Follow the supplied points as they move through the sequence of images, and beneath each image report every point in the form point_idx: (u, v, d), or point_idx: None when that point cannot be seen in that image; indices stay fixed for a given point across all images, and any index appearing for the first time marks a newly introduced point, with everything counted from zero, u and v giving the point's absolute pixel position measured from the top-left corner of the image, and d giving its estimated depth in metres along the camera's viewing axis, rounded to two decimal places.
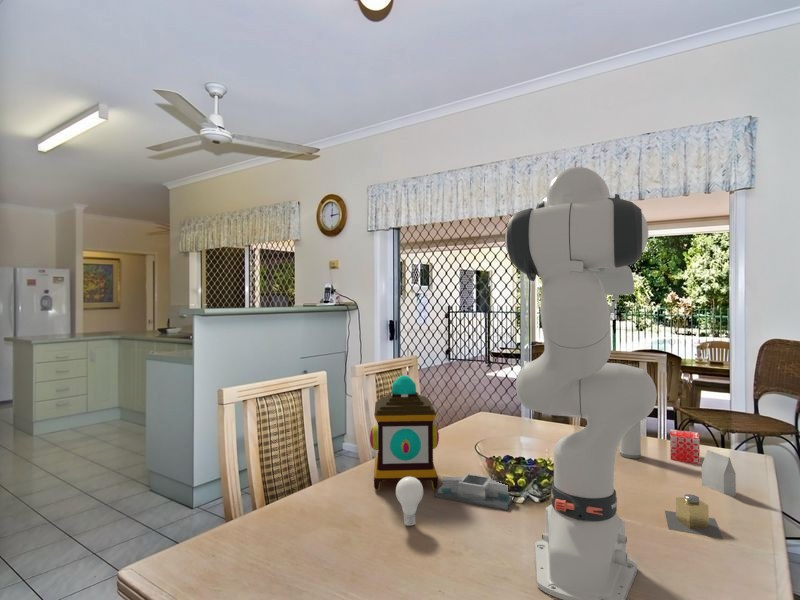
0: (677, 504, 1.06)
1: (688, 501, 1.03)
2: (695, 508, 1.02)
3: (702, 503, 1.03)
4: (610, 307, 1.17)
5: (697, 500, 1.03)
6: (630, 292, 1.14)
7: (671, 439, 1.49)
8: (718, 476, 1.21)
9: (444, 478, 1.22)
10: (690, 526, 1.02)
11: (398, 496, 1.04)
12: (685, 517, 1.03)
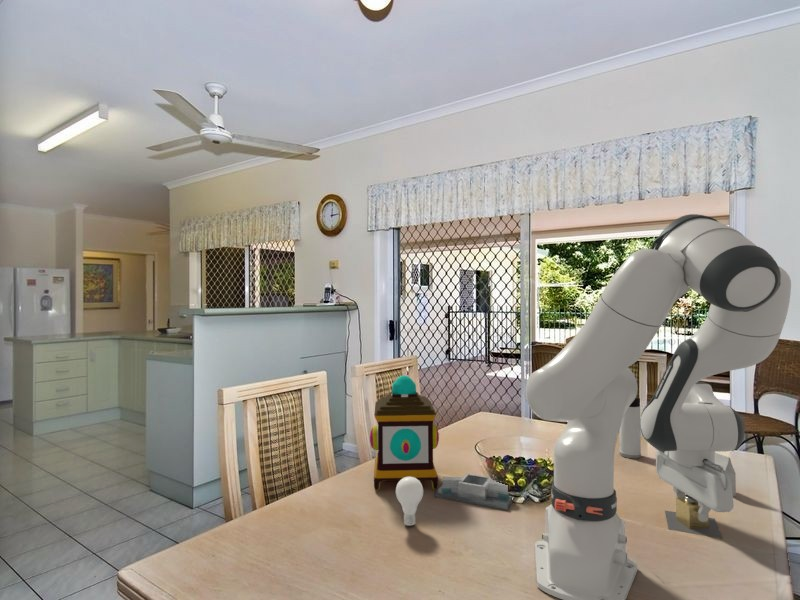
0: (677, 504, 1.06)
1: (688, 501, 1.03)
2: (695, 508, 1.02)
3: None
4: None
5: None
6: None
7: None
8: None
9: (444, 478, 1.22)
10: (690, 526, 1.02)
11: (398, 496, 1.04)
12: (685, 517, 1.03)
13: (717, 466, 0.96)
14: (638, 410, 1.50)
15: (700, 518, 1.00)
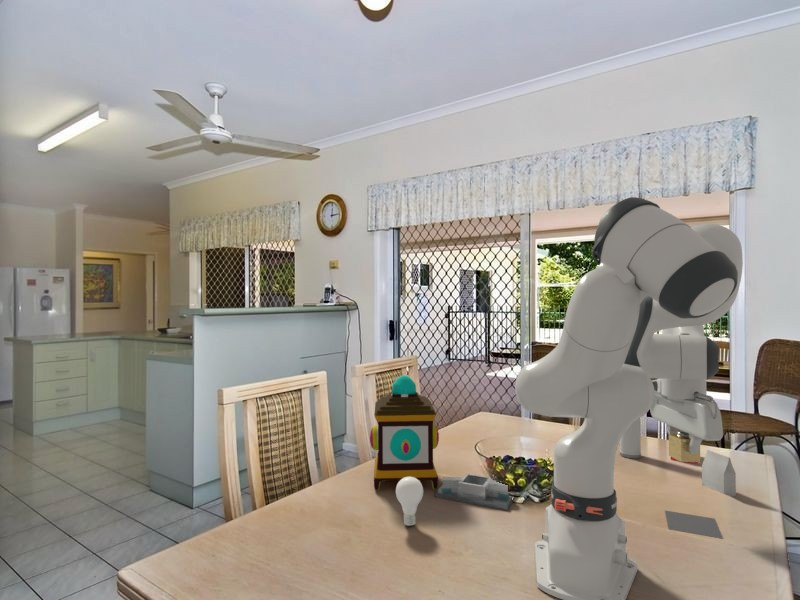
0: (670, 440, 1.07)
1: (680, 436, 1.05)
2: (687, 442, 1.03)
3: None
4: None
5: None
6: None
7: None
8: (718, 476, 1.21)
9: (444, 478, 1.22)
10: (682, 459, 1.03)
11: (398, 496, 1.04)
12: (677, 451, 1.05)
13: (707, 396, 0.97)
14: None
15: (691, 451, 1.02)
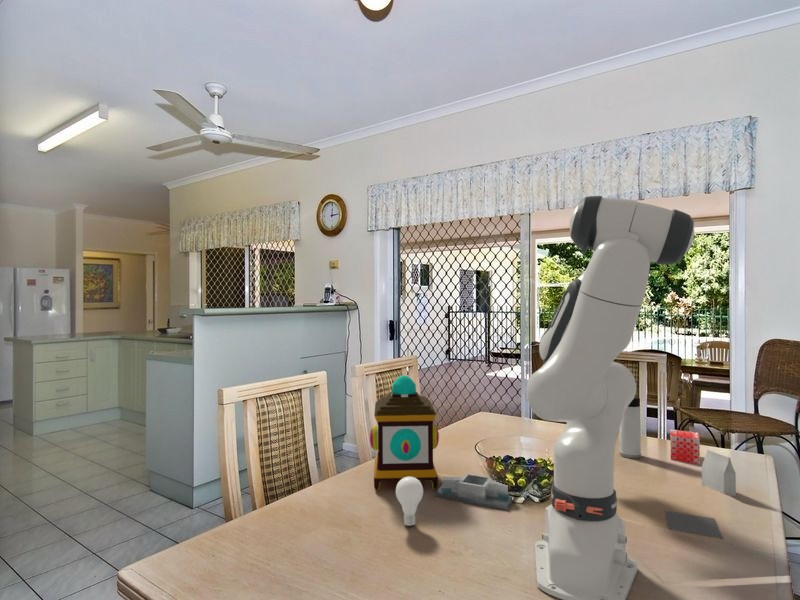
0: None
1: None
2: None
3: None
4: None
5: None
6: None
7: (671, 439, 1.49)
8: (718, 476, 1.21)
9: (444, 478, 1.22)
10: None
11: (398, 496, 1.04)
12: None
13: None
14: (638, 410, 1.50)
15: None
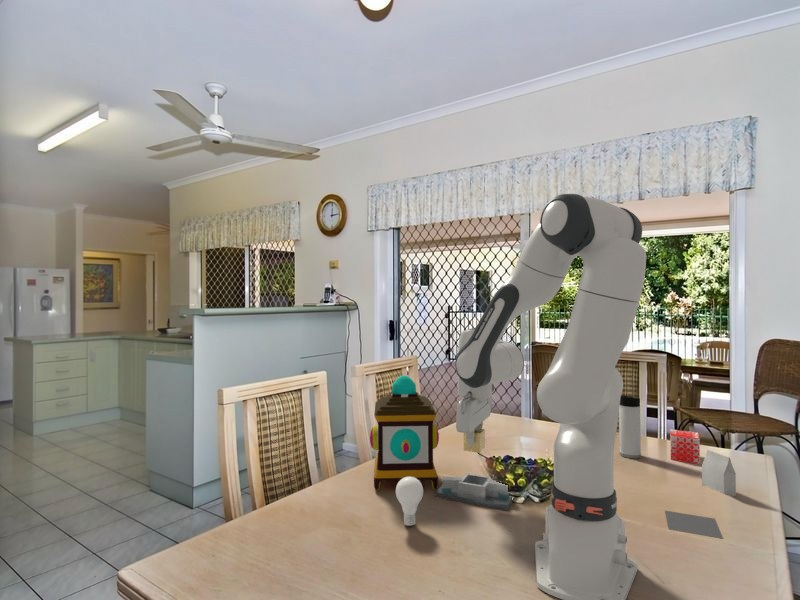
0: None
1: None
2: None
3: (478, 432, 1.20)
4: None
5: None
6: (489, 414, 1.30)
7: (671, 439, 1.49)
8: (718, 476, 1.21)
9: (444, 478, 1.22)
10: (464, 448, 1.21)
11: (398, 496, 1.04)
12: None
13: (463, 395, 1.15)
14: (638, 410, 1.50)
15: (467, 441, 1.19)
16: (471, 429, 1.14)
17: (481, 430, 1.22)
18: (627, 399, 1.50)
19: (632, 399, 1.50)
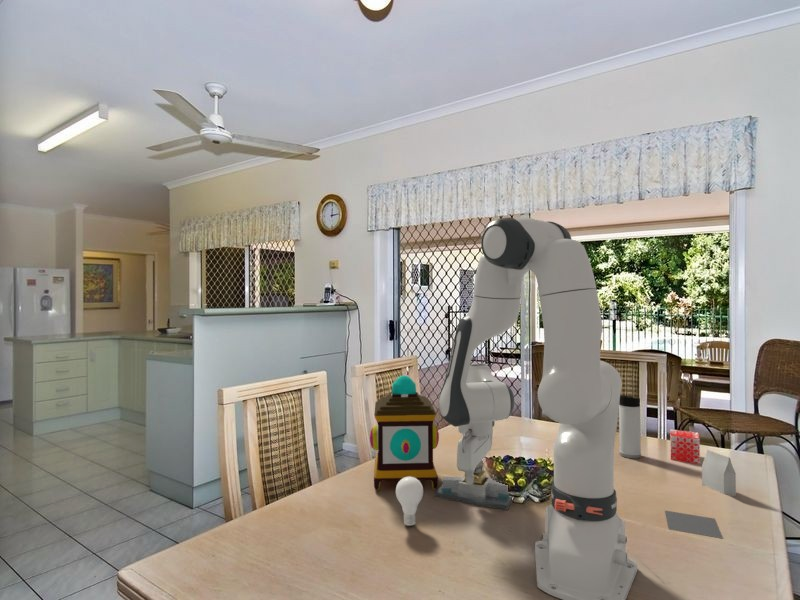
0: None
1: None
2: None
3: (479, 475, 1.20)
4: (483, 467, 1.25)
5: (475, 471, 1.20)
6: (490, 449, 1.29)
7: (671, 439, 1.49)
8: (718, 476, 1.21)
9: (444, 478, 1.22)
10: None
11: (398, 496, 1.04)
12: None
13: (464, 433, 1.15)
14: (638, 410, 1.50)
15: (467, 481, 1.18)
16: (472, 468, 1.13)
17: (482, 472, 1.22)
18: (627, 399, 1.50)
19: (632, 399, 1.50)
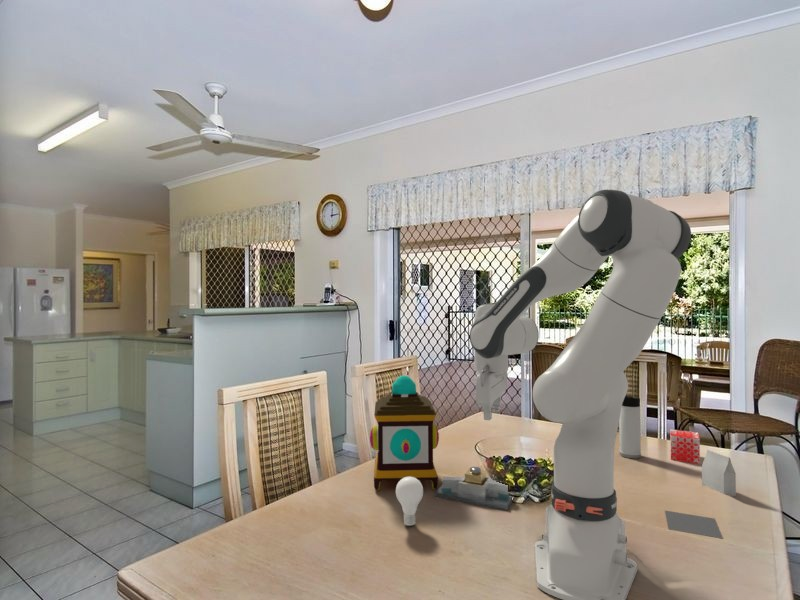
0: None
1: (470, 471, 1.22)
2: (470, 477, 1.20)
3: (479, 475, 1.20)
4: (499, 406, 1.27)
5: (475, 471, 1.20)
6: (505, 390, 1.31)
7: (671, 439, 1.49)
8: (718, 476, 1.21)
9: (444, 478, 1.22)
10: None
11: (398, 496, 1.04)
12: None
13: (482, 368, 1.16)
14: (638, 410, 1.50)
15: (484, 417, 1.19)
16: (490, 401, 1.15)
17: (482, 472, 1.22)
18: (627, 399, 1.50)
19: (632, 399, 1.50)
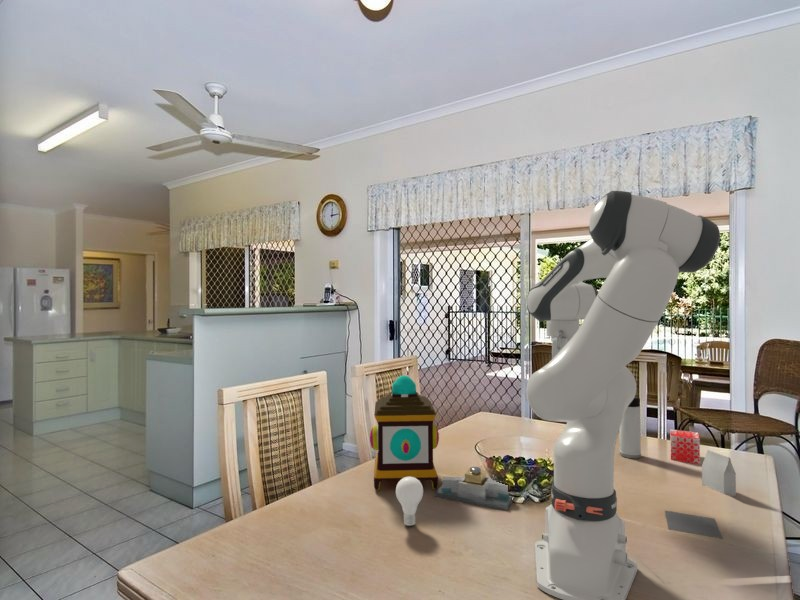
0: None
1: (470, 471, 1.22)
2: (470, 477, 1.20)
3: (479, 475, 1.20)
4: None
5: (475, 471, 1.20)
6: None
7: (671, 439, 1.49)
8: (718, 476, 1.21)
9: (444, 478, 1.22)
10: None
11: (398, 496, 1.04)
12: None
13: (557, 332, 1.24)
14: (638, 410, 1.50)
15: None
16: None
17: (482, 472, 1.22)
18: None
19: None
